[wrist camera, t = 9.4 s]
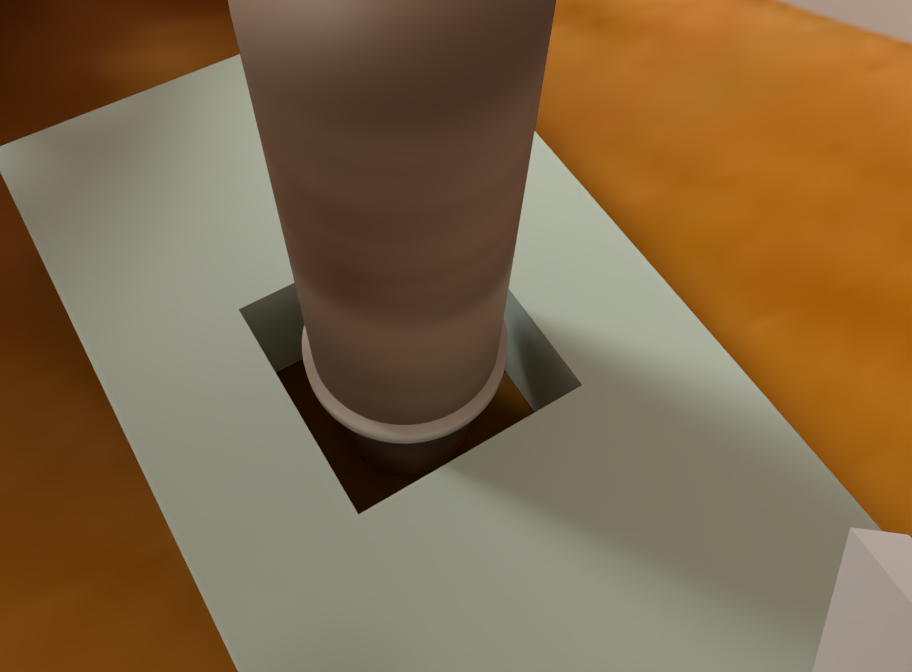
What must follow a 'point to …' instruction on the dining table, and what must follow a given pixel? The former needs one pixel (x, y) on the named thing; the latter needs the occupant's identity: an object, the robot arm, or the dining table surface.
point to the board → (459, 481)
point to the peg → (398, 199)
